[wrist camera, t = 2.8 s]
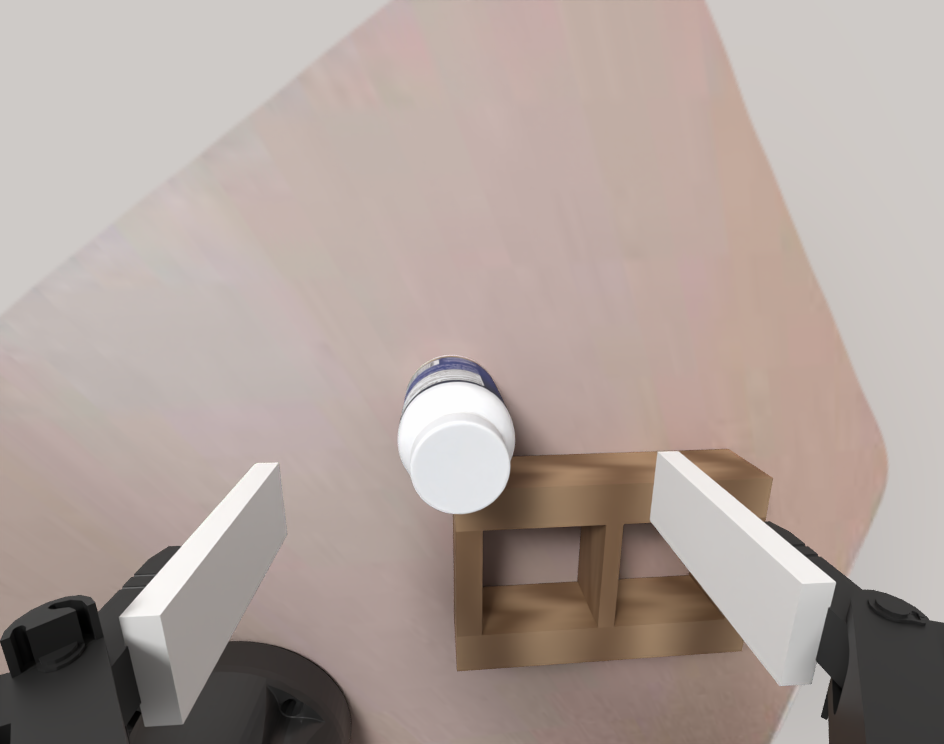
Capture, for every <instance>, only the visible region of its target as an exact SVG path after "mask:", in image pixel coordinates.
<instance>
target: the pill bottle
mask: <svg viewBox="0 0 944 744" xmlns="http://www.w3.org/2000/svg"><path fill="white" fill-rule="evenodd" d="M514 448H515V431H514V426H513V422H512V419H511V417H510V414H509V412H508V409H507V407H506V406H505V404H504V401H503V399H502V397H501V395H500V393H499V391H498V389H497V387H496V385H495V383H494V381H493V380H492V378H491V376H490V375H489V373H488V372H487V371H486V370H485V369H484V368H483V367H482V366H481V365H480V364H479V363H477V362H476V361H474V360H472V359H470V358H467V357H464V356H459V355H444V356H439V357H436V358H434V359H431V360H429V361H428V362H426V363H425V364H423V365H422V366H421V367H420V368H419V369H418V370H417V371H416V372H415V373H414V375H413V376H412V378H411V380H410V382H409V385H408V387H407V391H406V396H405V401H404V406H403V410H402V415H401V419H400V425H399V430H398V449H399V454H400V457H401V461H402V463H403V465H404V467H405V469H406V470H407V472H408V473H409V475H410V476H411V480H412V484H413V486H414V488H415V490H416V492H417V493H418V495H419V496H420V497H421V498H422V500H424V501H425V502H426V503H427V504H428V505H430V506H431V507H433V508H434V509H436V510H439V511H442V512H445V513H450V514H468V513H472V512H476V511H478V510H481V509H483V508H485V507H487V506H488V505H490V504H491V503H492V502H494V501H495V500H496V499H497V498H498V497H499V496H500V494H501V493H502V492H503V490H504V488H505V487H506V484H507V481H508V479H509V475H510V461H511V459H512V456H513V452H514Z"/></svg>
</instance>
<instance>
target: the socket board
mask: <svg viewBox="0 0 944 744" xmlns="http://www.w3.org/2000/svg"><path fill="white" fill-rule="evenodd" d="M657 452H666V451H656V452H627V453H598V454H569V455H539V456H512V459H511V461H510V475H509V479H508V481H507V484H506V487H505V488H504V490H503V492H502V493H501V494H500V496H499V497H498V498H497V499H496V500H495V501H494V502H492V503H491V504H490V505H488V506H487V507H485V508H483V509H481V510H478V511H476V512H472V513H468V514H453V555H454V624H455V643H456V662H457V671H468V670H482V669H496V668H510V667H524V666H538V665H552V664H567V663H581V662H595V661H609V660H623V659H637V658H651V657H665V656H680V655H694V654H708V653H722V652H736V651H742V647H743V641H744V640H743V639H742V637H741V636H740V635H739V634H738V632H737V631H736V630H735V628H734V627H733V626H732V625H731V623H730V622H729V621H728V620H727V618H726V617H725V616H724V614H723V613H722V612H721V611H720V609H719V608H718V607H717V606H716V604H715V603H714V602H713V600H712V599H711V598H710V597H709V595H708V594H707V593H706V591H705V590H704V589H703V588H702V586H701V585H700V584H699V583H698V581H697V580H696V579H695V577H694V576H693V575H692V574H691V572H689V575H685V576H667V577H649V578H632V579H618V578H619V568H620V557H621V546H622V536H623V525H624V524H635V523H651V521H650V513H651V504H652V496H653V487H654V478H655V469H656V461H657ZM679 452H680V453H681V454H682V455H684V456H685V457H686V458H687V459H688V460H690V461H691V462H692V463H693V464H694V465H696V466H697V467H698V468H699V469H700V470H702V471H703V472H704V473H705V474H706V475H708V476H709V477H710V478H711V479H713V480H714V481H715V482H716V483H717V484H719V485H720V486H721V487H722V488H723V489H725V490H726V491H727V492H728V493H729V494H731V495H732V496H733V497H734V498H735V499H737V500H738V501H739V502H740V503H741V504H743V505H744V506H745V507H746V508H747V509H749V510H750V511H751V512H752V513H753V514H755V515H756V516H757V517H758V518H759V519H761V520H762V521H763V522H765V520H766V514H767V509H768V503H769V498H770V492H771V487H772V481H773V478H772V477H771V476H769V475H768V474H766V473H765V472H763V471H761V470H760V469H758V468H757V467H755V466H754V465H752V464H751V463H749V462H748V461H746V460H745V459H743V458H741V457H740V456H738V455H737V454H735V453H734V452H732V451H731V450H729V449H714V450H685V451H679ZM571 526H581V537H580V551H579V566H578V581H577V582H561V583H543V584H526V585H508V586H490V587H482V572H483V531H485V530H507V529H528V528H549V527H571Z"/></svg>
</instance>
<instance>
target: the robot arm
mask: <svg viewBox="0 0 944 744" xmlns="http://www.w3.org/2000/svg"><path fill="white" fill-rule="evenodd" d="M650 521H651V523H652V524H653V525H654V526H655V528H656V529H657V530H658V532H659V533H660V534H661V535H662V537H663V538H664V539H665V540H666V542H667V543H668V544H669V546H670V547H671V548H672V549H673V551H674V552H675V553H676V554H677V556H678V557H679V558H680V560H681V561H682V562H683V563H684V565H685V566H686V567H687V569H688V570H689V571H690V572H691V574H692V575H693V576H694V577H695V579H696V580H697V581H698V583H699V584H700V585H701V586H702V588H703V589H704V590H705V591H706V593H707V594H708V595H709V597H710V598H711V599H712V600H713V602H714V603H715V604H716V606H717V607H718V608H719V609H720V611H721V612H722V613H723V614H724V616H725V617H726V618H727V620H728V621H729V622H730V623H731V625H732V626H733V627H734V628H735V630H736V631H737V632H738V634H739V635H740V636H741V637H742V639H743V640H744V641H745V643H746V644H747V645H748V646H749V648H750V649H751V650H752V651H753V653H754V654H755V655H756V657H757V658H758V659H759V660H760V662H761V663H762V664H763V665H764V667H765V668H766V669H767V671H768V672H769V673H770V674H771V676H772V677H773V678H774V680H775V681H776V682H777V683H778V685H779V686H790V685H805V684H812V680H813V676H814V672H815V668H816V664H817V662H818V664H820V666H821V667H822V668H823V669H824V670H825V671H826V672H827V673H828V674H829V675H830V676H831V679H830V683H829V687H828V691H827V695H826V699H825V703H824V707H823V711H822V715H821V717H822V718H824V719H826V720H827V719H828V721H829V744H944V623H941V622H936V621H930V620H929V619H928V617H927V616H925V615H924V614H923V613H922V612H921V611H919V610H918V609H917V608H916V607H914V606H912V605H910V604H909V603H907V602H905V601H904V600H902V599H899V598H897V597H894V596H892V595H889V594H887V593H883V592H879V591H875V590H862V589H861V588H860V587H858V586H857V585H856V584H854V583H853V582H852V581H851V580H850V579H848V578H847V577H846V576H845V575H843V574H842V573H841V572H840V571H838V570H837V569H836V568H834V567H833V566H832V565H831V564H829V563H828V562H827V561H826V560H824V559H823V558H822V557H818V554H817V553H816V552H814V551H813V550H812V549H811V548H809V547H808V546H805V544H804V543H803V542H802V541H801V540H799V539H798V538H797V537H796V536H794V535H793V534H792V533H791V532H789V531H787V530H785V529H783V528H781V527H779V526H777V525H775V524H774V523H772V522H770V521H769V522H763V521H762V520H761V519H759V518H758V517H757V516H756V515H755V514H753V513H752V512H751V511H750V510H749V509H747V508H746V507H745V506H744V505H743V504H741V503H740V502H739V501H738V500H737V499H735V498H734V497H733V496H732V495H731V494H729V493H728V492H727V491H726V490H725V489H723V488H722V487H721V486H720V485H719V484H717V483H716V482H715V481H714V480H713V479H711V478H710V477H709V476H708V475H706V474H705V473H704V472H703V471H702V470H700V469H699V468H698V467H697V466H696V465H694V464H693V463H692V462H691V461H690V460H688V459H687V458H686V457H685V456H684V455H682V454H681V453H680V452H679V451H666V452H657V461H656V469H655V478H654V487H653V496H652V504H651V513H650ZM286 536H287V526H286V518H285V510H284V501H283V493H282V484H281V476H280V467H279V462H278V463H255V464H254V465H253V467H252V468H251V469H250V470H249V471H248V472H247V473H246V474H245V476H244V477H243V478H242V479H241V480H240V481H239V482H238V483H237V485H236V486H235V487H234V488H233V489H232V490H231V491H230V492H229V494H228V495H227V496H226V497H225V498H224V499H223V500H222V502H221V503H220V504H219V505H218V506H217V507H216V508H215V509H214V511H213V512H212V513H211V514H210V515H209V516H208V517H207V518H206V520H205V521H204V522H203V523H202V524H201V525H200V526H199V527H198V529H197V530H196V531H195V532H194V533H193V534H192V535H191V536H190V538H189V539H188V540H187V541H186V542H185V543H184V544H183V545H182V546H169V547H167V548H166V549H164V550H162V551H161V552H159V553H158V554H156V555H155V556H153V557H152V558H150V559H148V560H147V562H146V563H145V564H144V565H143V566H142V567H141V568H140V569H139V570H138V571H137V572H136V573H135V574H134V577H131V578H130V579H129V580H128V581H127V582H126V583H125V584H124V586H123V588H122V590H119V591H118V592H117V593H116V594H115V595H114V596H113V597H112V598H111V599H110V600H109V601H108V602H107V603H106V604H105V605H104V606H103V607H102V608H101V610H100V611H99V612H98V611H97V608H96V604H95V602H94V601H93V599H92V598H91V597H87V596H82V595H77V596H68V597H63V598H60V599H57V600H54V601H50V602H48V603H45V604H43V605H41V606H39V607H37V608H35V609H33V610H31V611H29V612H28V613H26V614H25V615H23V616H22V617H20V618H18V619H17V620H15V621H14V622H13V623H12V624H11V625H10V626H9V627H8V628H7V629H6V630H5V631H4V633H3V636H2V638H1V640H0V643H1V646H2V649H3V652H4V655H5V658H6V661H7V664H8V667H9V671H10V673H6V674H2V675H0V744H349V742H350V736H351V717H350V712H349V708H348V705H347V703H346V700H345V698H344V696H343V694H342V693H341V691H340V689H339V688H338V687H337V685H336V684H335V683H334V681H333V680H332V679H331V678H330V677H329V676H328V675H327V674H326V673H325V672H324V671H323V670H321V669H320V668H319V667H317V666H316V665H315V664H313V663H312V662H310V661H309V660H307V659H305V658H303V657H301V656H299V655H297V654H295V653H293V652H290V651H288V650H285V649H282V648H279V647H275V646H272V645H267V644H262V643H255V642H242V641H231V642H229V640H230V638H231V636H232V634H233V632H234V631H235V629H236V627H237V625H238V623H239V622H240V620H241V618H242V616H243V614H244V612H245V611H246V609H247V607H248V605H249V603H250V601H251V600H252V598H253V596H254V594H255V592H256V591H257V589H258V587H259V585H260V583H261V581H262V580H263V578H264V576H265V574H266V572H267V570H268V569H269V567H270V565H271V563H272V561H273V560H274V558H275V556H276V554H277V552H278V550H279V549H280V547H281V545H282V543H283V541H284V540H285V538H286Z"/></svg>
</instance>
